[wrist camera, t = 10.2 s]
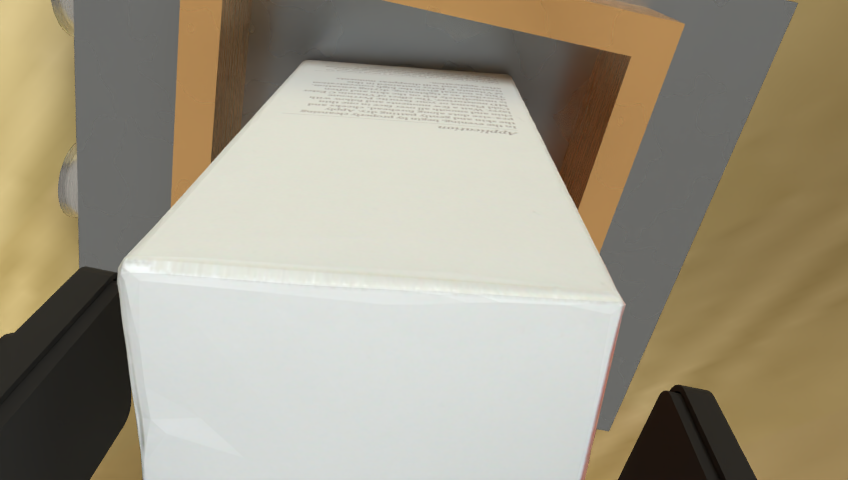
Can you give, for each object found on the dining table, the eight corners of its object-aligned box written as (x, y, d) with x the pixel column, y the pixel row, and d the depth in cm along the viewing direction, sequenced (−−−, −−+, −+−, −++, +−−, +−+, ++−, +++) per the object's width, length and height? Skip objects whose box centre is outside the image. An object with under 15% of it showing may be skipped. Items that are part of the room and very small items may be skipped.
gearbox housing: (716, -18, 24) (859, 17, 16) (578, 341, 31) (629, 492, 23) (122, -159, 22) (-58, -200, 14) (118, 253, 29) (-3, 383, 21)
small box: (486, 302, 23) (538, 704, 11) (304, 290, 23) (166, 682, 11) (517, 67, 19) (638, 300, 8) (300, 51, 19) (92, 263, 8)
